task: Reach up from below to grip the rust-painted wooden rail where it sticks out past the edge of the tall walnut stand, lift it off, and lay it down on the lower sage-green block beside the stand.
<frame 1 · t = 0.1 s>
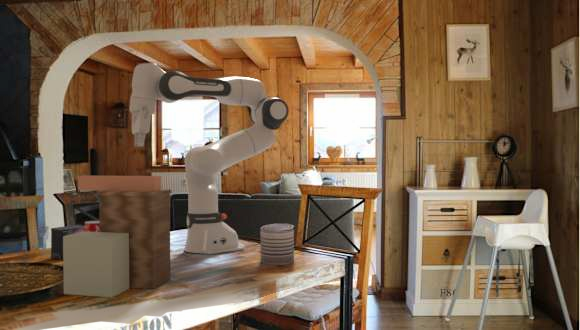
hand: (138, 146, 171), 39 cm above the table, tool pointing down, fingers open, 8 cm apart
can: (277, 261, 162), on the table
rail: (119, 190, 136), point 26 cm above the table, touching tall stand
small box: (69, 256, 170), on the table
tall stand: (136, 282, 135), on the table
low block: (97, 291, 126), on the table
soda can: (95, 259, 165), on the table
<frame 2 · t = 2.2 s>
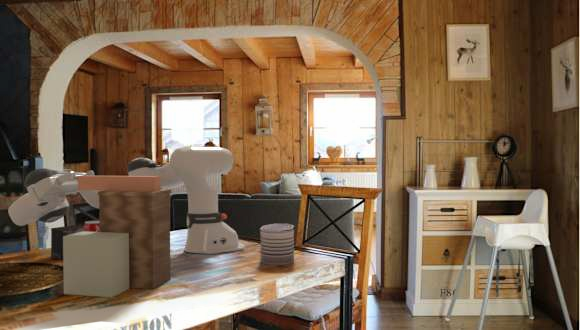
hand: (83, 173, 152), 30 cm above the table, tool pointing upward, fingers open, 8 cm apart
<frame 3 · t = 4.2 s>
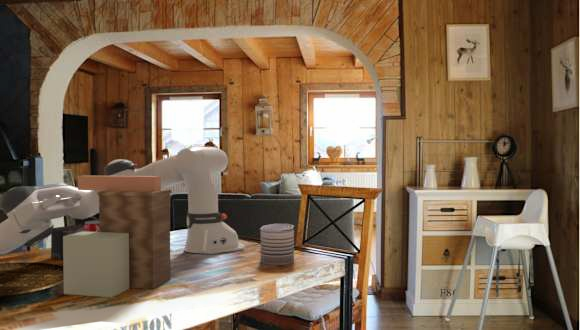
hand: (69, 196, 138), 24 cm above the table, tool pointing upward, fingers open, 8 cm apart
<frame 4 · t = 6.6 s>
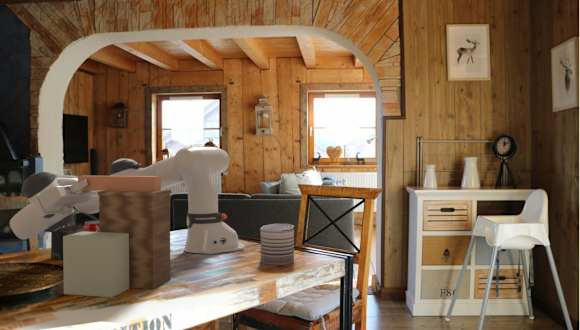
hand: (93, 181, 137), 28 cm above the table, tool pointing upward, fingers closed on rail, 3 cm apart
rail: (119, 190, 136), point 26 cm above the table, touching gripper, tall stand
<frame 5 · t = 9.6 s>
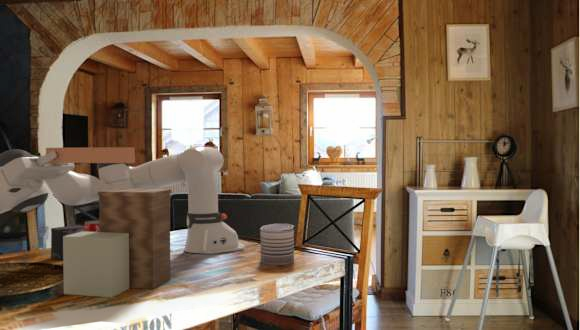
hand: (62, 153, 128), 36 cm above the table, tool pointing upward, fingers closed on rail, 3 cm apart
rail: (90, 162, 126), point 34 cm above the table, touching gripper
when the fingers open (19 cm above the table, at t = 12.7 s): rail drops 1 cm, resting on low block.
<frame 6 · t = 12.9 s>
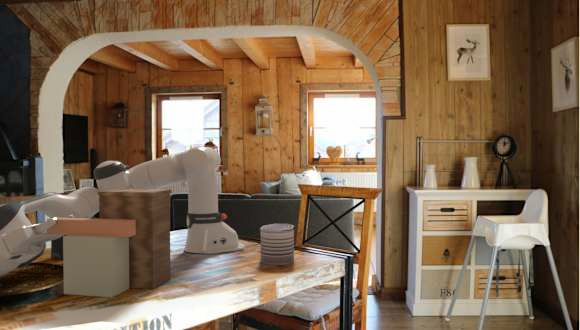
hand: (64, 218, 128), 19 cm above the table, tool pointing upward, fingers open, 5 cm apart
rail: (91, 234, 126), point 15 cm above the table, touching low block
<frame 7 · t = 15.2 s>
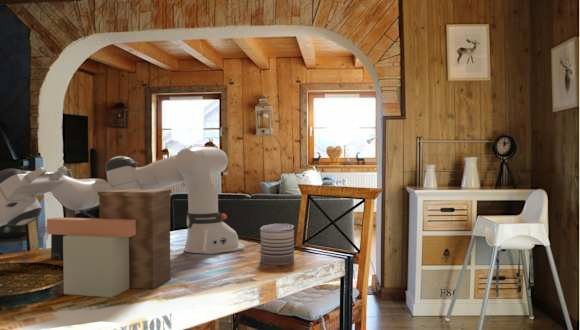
hand: (54, 168, 140), 32 cm above the table, tool pointing upward, fingers open, 8 cm apart
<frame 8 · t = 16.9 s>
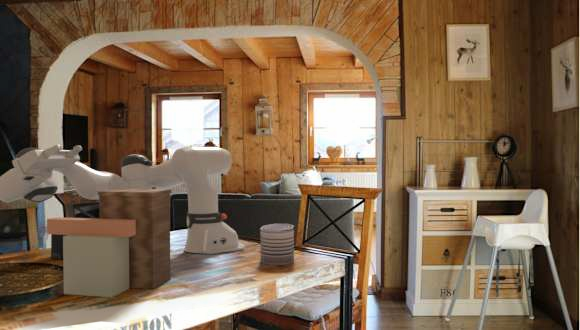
hand: (70, 146, 148), 38 cm above the table, tool pointing upward, fingers open, 8 cm apart
at the end: rail inside the target area (1.4 cm from its centre), point 15.0 cm above the table; the gripper is holding nothing; rail touching low block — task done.
